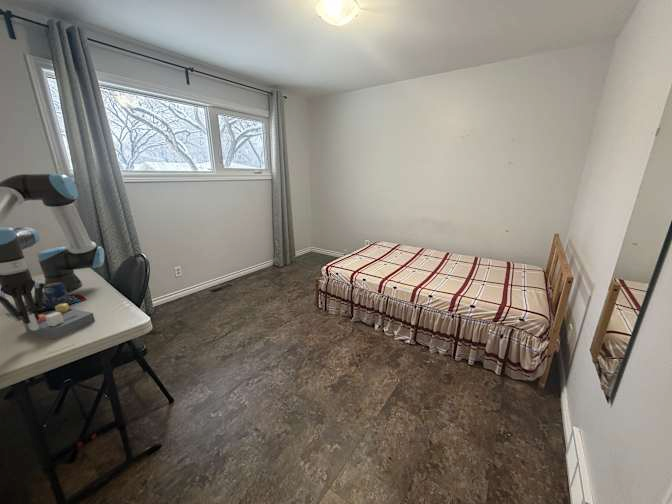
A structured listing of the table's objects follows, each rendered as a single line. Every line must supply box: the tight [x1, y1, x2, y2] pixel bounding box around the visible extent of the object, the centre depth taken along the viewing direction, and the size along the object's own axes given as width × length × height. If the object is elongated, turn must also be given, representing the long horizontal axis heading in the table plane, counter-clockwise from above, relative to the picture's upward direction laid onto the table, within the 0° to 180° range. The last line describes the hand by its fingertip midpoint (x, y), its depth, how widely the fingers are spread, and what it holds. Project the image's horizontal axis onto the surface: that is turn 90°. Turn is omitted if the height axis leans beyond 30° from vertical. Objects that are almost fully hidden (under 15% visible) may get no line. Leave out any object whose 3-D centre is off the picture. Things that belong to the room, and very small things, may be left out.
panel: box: [23, 307, 96, 340], centre depth 113 cm, size 18×14×4 cm
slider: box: [45, 312, 64, 326], centre depth 108 cm, size 3×4×4 cm
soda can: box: [43, 282, 71, 310], centre depth 129 cm, size 7×7×12 cm
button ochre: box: [54, 303, 70, 313], centre depth 118 cm, size 4×4×3 cm
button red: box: [36, 313, 46, 323], centre depth 111 cm, size 4×4×3 cm
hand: (34, 329), depth 102 cm, fingers closed
